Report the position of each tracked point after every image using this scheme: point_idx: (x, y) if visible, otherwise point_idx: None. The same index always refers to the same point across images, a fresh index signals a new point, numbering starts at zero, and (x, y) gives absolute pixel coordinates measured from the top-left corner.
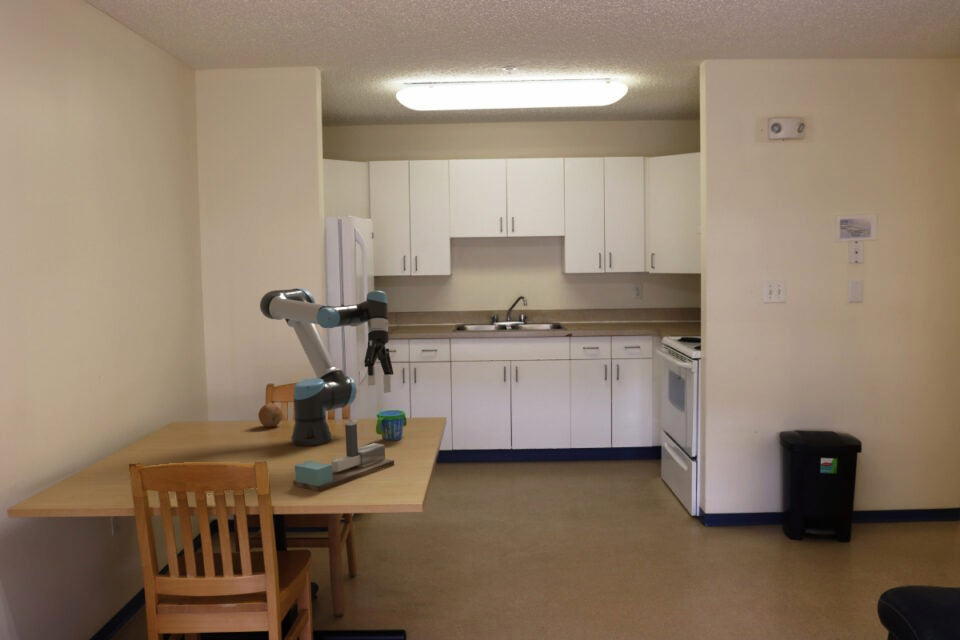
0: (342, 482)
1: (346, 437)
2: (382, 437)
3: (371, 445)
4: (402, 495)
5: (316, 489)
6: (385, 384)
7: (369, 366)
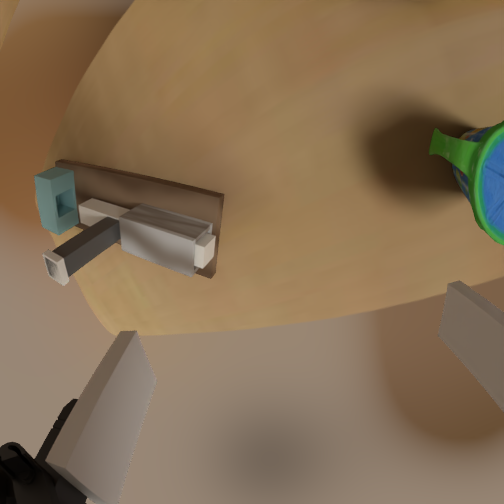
0: None
1: (75, 238)
2: (462, 135)
3: (171, 246)
4: (115, 321)
5: None
6: (483, 333)
7: (45, 471)
